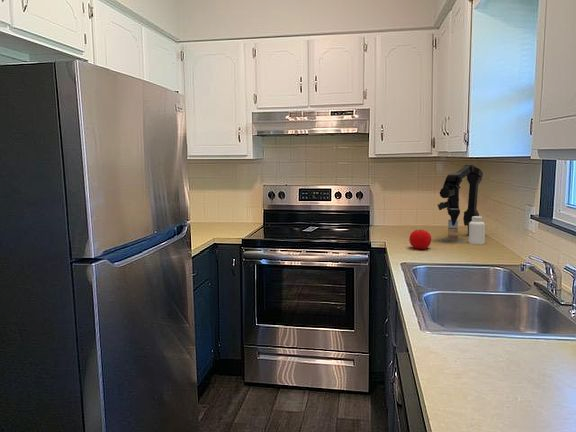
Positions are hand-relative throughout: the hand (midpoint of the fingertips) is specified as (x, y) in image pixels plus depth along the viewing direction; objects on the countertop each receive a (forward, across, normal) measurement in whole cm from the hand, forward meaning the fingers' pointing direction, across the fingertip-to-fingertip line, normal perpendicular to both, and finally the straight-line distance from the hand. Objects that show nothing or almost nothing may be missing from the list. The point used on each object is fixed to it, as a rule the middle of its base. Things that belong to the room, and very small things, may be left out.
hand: (453, 224), depth 261 cm
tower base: (+9, 0, 0) cm, 9 cm away
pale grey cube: (+1, 0, 0) cm, 1 cm away
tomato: (+10, +24, -17) cm, 31 cm away
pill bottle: (+10, +6, +12) cm, 17 cm away
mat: (+10, 0, 0) cm, 10 cm away
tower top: (+6, 0, 0) cm, 6 cm away
